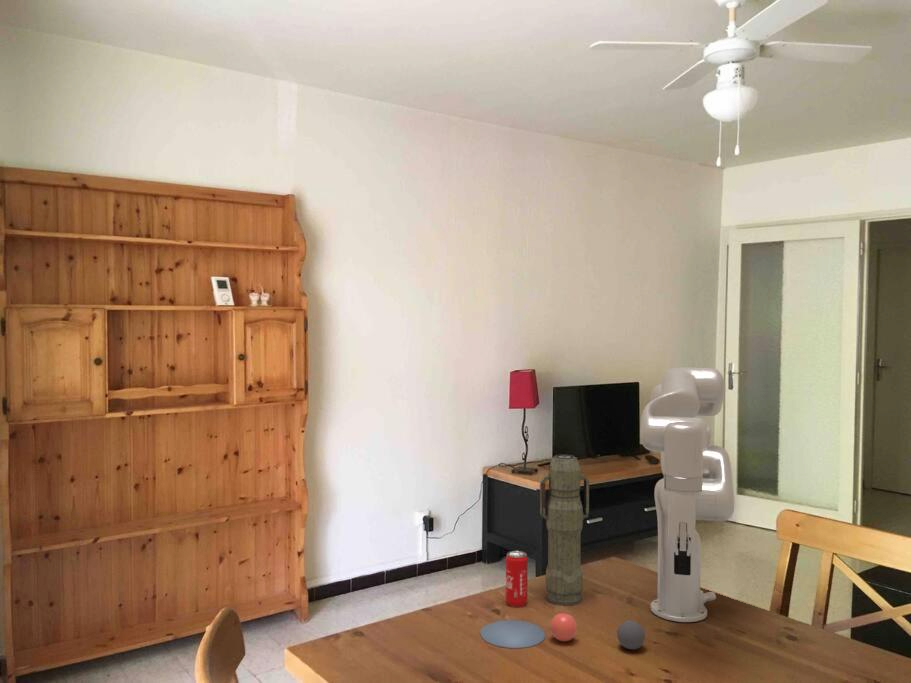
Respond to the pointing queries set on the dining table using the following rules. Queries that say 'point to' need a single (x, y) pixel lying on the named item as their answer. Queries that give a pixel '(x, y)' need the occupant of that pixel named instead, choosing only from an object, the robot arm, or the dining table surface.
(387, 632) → the dining table surface
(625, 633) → the gray ball
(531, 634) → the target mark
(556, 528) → the thermos
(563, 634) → the red ball
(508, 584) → the beverage can
